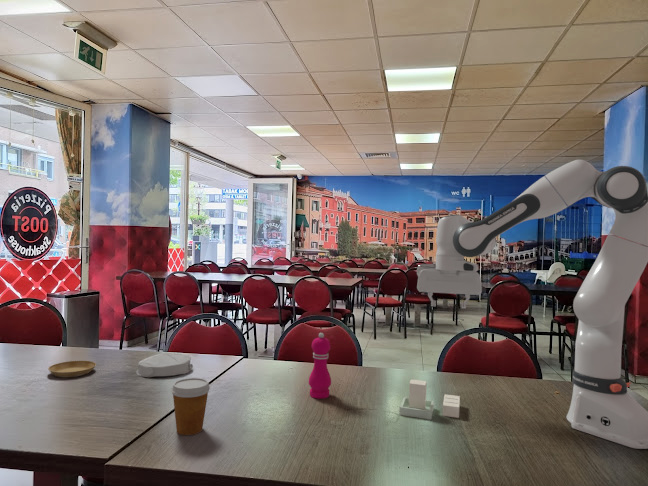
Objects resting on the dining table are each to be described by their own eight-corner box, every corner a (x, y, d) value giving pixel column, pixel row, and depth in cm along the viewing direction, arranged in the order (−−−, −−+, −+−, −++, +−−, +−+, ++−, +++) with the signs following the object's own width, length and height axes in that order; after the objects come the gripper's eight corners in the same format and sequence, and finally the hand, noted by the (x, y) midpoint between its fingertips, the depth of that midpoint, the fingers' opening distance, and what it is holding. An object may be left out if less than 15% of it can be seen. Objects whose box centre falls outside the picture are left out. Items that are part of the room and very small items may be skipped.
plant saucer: (84, 365, 166) (84, 358, 166) (103, 372, 157) (104, 365, 157) (40, 373, 154) (40, 366, 154) (59, 382, 145) (59, 374, 145)
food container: (183, 380, 152) (184, 361, 152) (126, 377, 152) (127, 358, 152) (200, 365, 172) (201, 347, 172) (149, 362, 172) (150, 345, 172)
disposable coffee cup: (187, 442, 105) (189, 392, 105) (161, 431, 110) (163, 384, 110) (216, 428, 113) (218, 382, 113) (191, 419, 118) (192, 375, 118)
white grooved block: (444, 403, 136) (444, 393, 136) (459, 405, 134) (459, 395, 134) (442, 415, 126) (442, 404, 126) (459, 418, 125) (459, 407, 125)
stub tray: (403, 404, 134) (403, 396, 134) (433, 408, 132) (433, 401, 132) (399, 414, 126) (399, 407, 126) (431, 419, 123) (431, 411, 123)
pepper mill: (328, 400, 136) (330, 335, 136) (305, 398, 137) (307, 334, 137) (332, 392, 143) (334, 331, 143) (311, 390, 144) (312, 329, 144)
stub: (410, 405, 131) (411, 379, 131) (425, 408, 130) (426, 381, 130) (408, 410, 127) (409, 383, 127) (424, 413, 126) (425, 385, 126)
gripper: (416, 263, 143) (414, 306, 143) (482, 266, 137) (481, 310, 137) (417, 263, 149) (416, 303, 149) (481, 265, 143) (480, 308, 143)
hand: (448, 307), depth 143 cm, fingers open, 8 cm apart
